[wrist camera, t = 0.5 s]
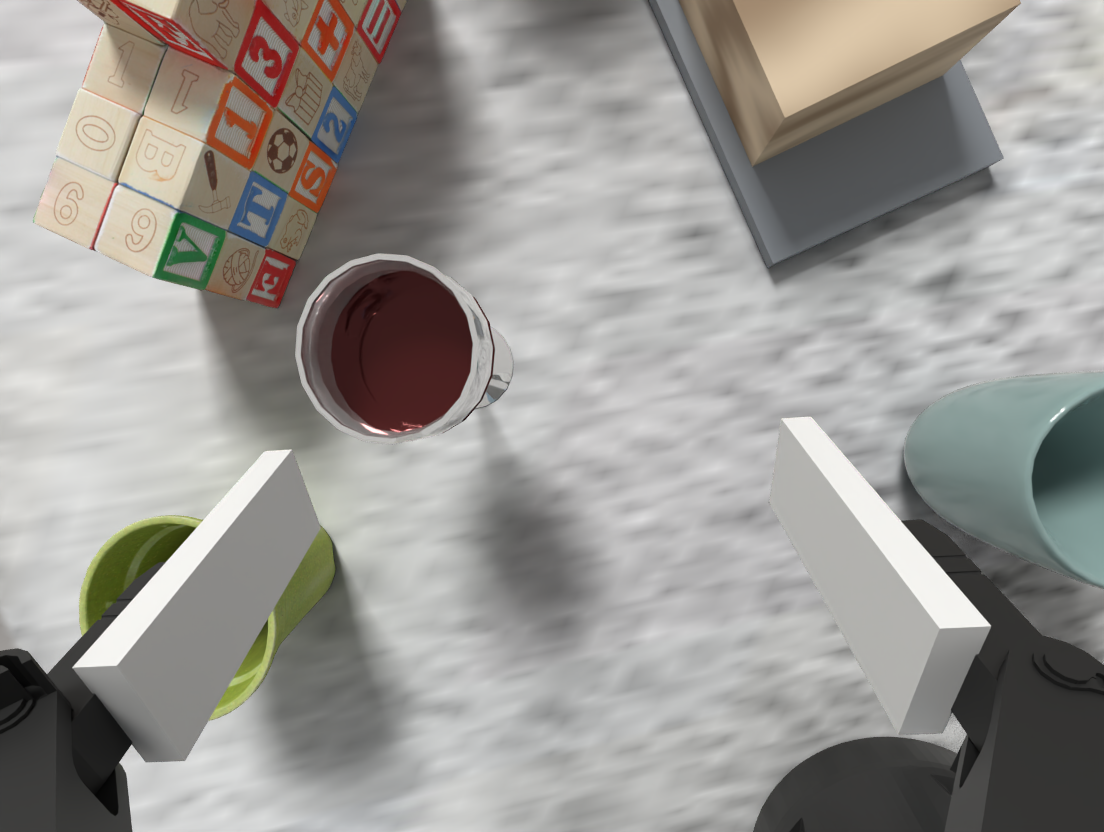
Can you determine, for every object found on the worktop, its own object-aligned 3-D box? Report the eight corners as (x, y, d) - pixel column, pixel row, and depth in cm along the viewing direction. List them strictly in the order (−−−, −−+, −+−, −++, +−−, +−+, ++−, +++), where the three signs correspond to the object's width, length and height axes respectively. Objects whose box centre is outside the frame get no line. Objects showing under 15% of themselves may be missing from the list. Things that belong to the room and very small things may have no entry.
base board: (989, 166, 28) (1003, 158, 27) (767, 267, 29) (773, 263, 28) (831, -191, 27) (840, -213, 26) (615, -74, 29) (616, -90, 28)
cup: (851, 426, 29) (981, 445, 19) (986, 349, 28) (1197, 327, 18) (927, 550, 29) (1098, 635, 19) (1065, 477, 28) (1320, 525, 18)
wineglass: (408, 310, 31) (285, 259, 19) (525, 300, 30) (474, 242, 18) (416, 427, 31) (300, 451, 19) (532, 421, 30) (487, 441, 19)
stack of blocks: (282, 312, 32) (81, 264, 20) (191, 270, 32) (-63, 196, 20) (425, -41, 30) (302, -338, 18) (327, -81, 30) (140, -399, 18)
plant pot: (307, 667, 32) (200, 767, 24) (187, 572, 33) (40, 636, 24) (394, 546, 32) (315, 605, 23) (269, 451, 32) (147, 473, 23)
